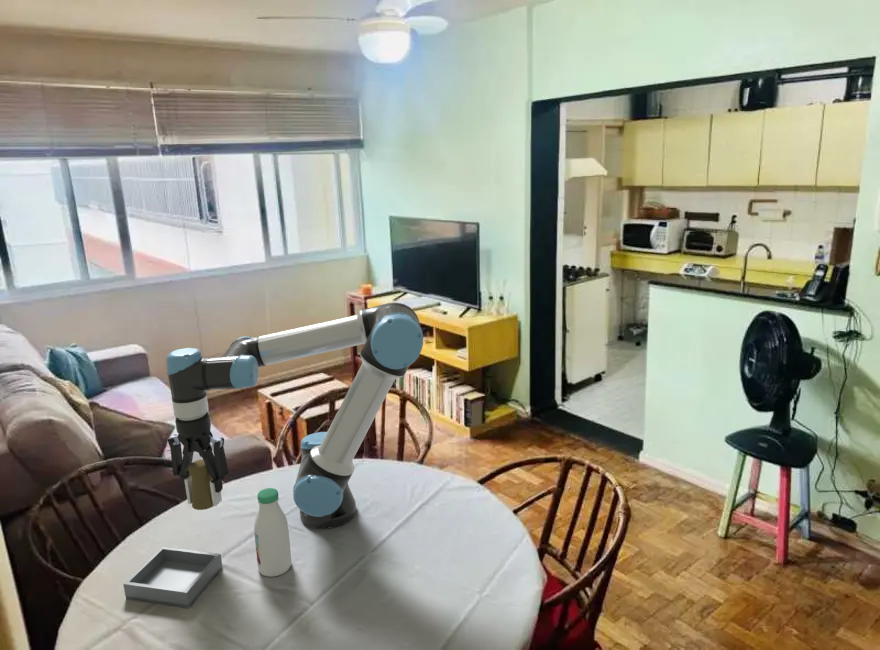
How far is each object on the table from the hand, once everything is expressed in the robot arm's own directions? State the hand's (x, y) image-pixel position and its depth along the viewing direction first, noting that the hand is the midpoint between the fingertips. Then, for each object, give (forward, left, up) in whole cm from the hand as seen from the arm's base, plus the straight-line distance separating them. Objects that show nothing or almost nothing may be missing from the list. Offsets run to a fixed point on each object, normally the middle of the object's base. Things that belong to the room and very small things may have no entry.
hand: (205, 501), depth 148 cm
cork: (0, 0, 0) cm, 0 cm away
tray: (+1, +13, -14) cm, 19 cm away
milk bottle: (-19, +3, -14) cm, 24 cm away
